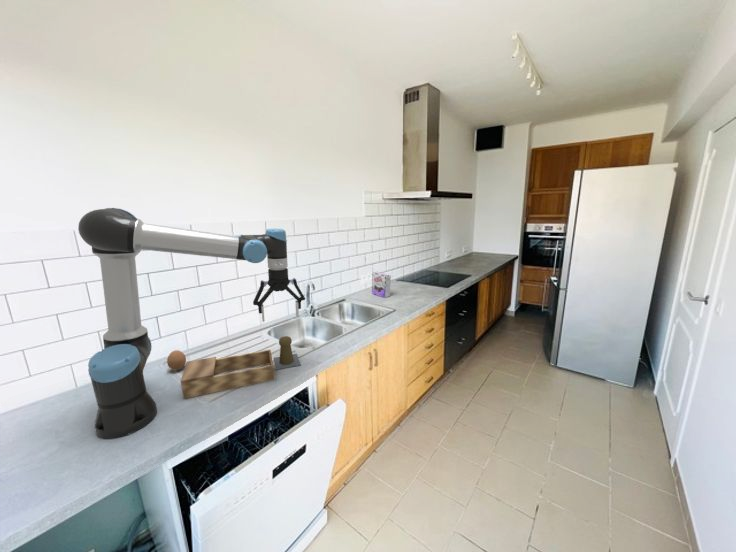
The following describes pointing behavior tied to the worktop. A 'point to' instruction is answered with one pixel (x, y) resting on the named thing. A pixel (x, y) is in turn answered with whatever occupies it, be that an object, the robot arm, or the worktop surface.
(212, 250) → the robot arm
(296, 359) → the slate mat
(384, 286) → the candy box
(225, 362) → the crate
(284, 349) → the cork
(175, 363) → the egg
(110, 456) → the worktop surface
